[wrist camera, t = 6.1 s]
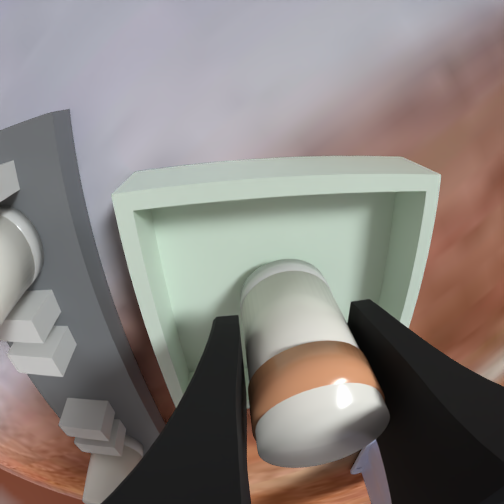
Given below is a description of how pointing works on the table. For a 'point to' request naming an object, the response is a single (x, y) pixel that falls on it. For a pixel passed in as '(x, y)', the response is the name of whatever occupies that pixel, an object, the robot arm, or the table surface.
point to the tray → (269, 239)
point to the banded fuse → (305, 370)
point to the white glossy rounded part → (17, 257)
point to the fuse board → (70, 299)
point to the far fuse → (110, 471)
